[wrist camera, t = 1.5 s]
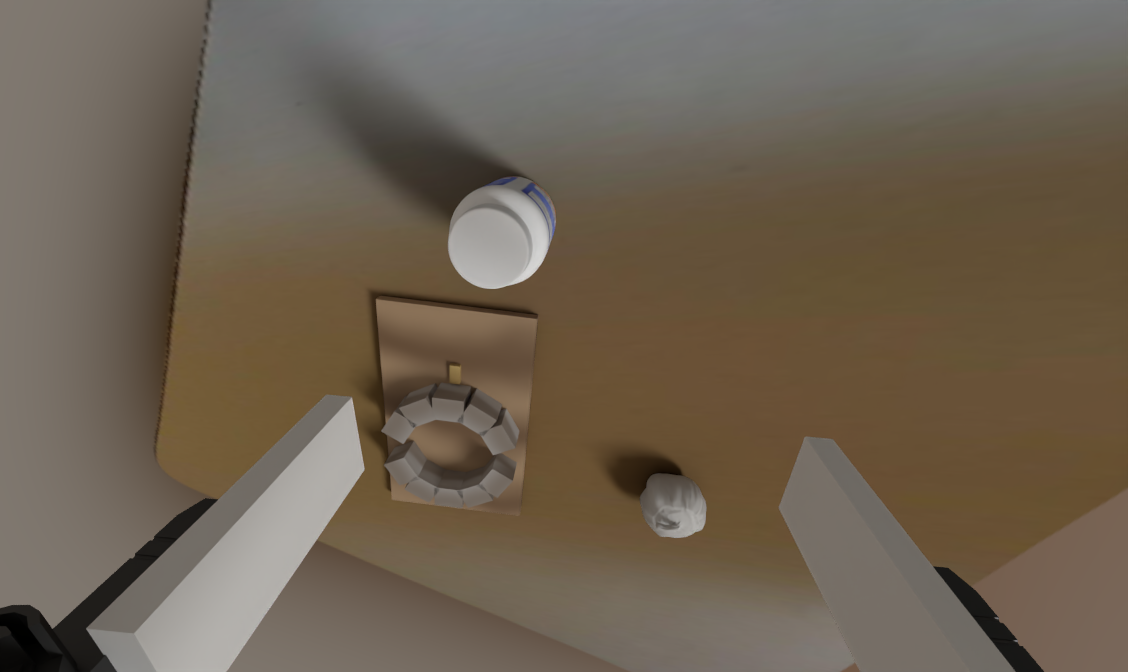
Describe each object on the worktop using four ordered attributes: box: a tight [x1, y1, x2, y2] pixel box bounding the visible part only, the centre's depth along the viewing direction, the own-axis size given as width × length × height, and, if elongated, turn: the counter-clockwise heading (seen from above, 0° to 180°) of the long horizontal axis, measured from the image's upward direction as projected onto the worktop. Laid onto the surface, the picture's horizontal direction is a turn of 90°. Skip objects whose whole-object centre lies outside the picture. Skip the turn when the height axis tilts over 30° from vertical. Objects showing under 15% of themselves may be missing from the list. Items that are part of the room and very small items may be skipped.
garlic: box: [640, 473, 706, 538], centre depth 36 cm, size 6×5×5 cm
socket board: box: [376, 296, 538, 516], centre depth 35 cm, size 20×12×3 cm, turn 174°
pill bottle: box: [448, 176, 556, 289], centre depth 25 cm, size 5×5×10 cm
